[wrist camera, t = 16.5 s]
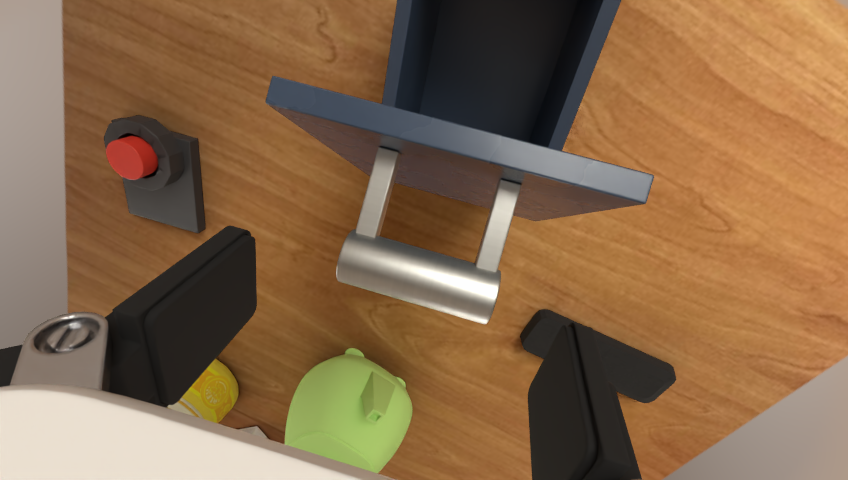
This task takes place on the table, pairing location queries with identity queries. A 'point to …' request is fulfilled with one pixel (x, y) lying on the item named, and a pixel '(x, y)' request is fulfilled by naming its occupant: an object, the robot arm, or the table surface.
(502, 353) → the table surface
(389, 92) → the lidded box
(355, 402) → the teapot
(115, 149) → the button
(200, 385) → the mug
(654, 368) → the remote control
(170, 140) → the switch block
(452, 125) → the blue drawer with handle
